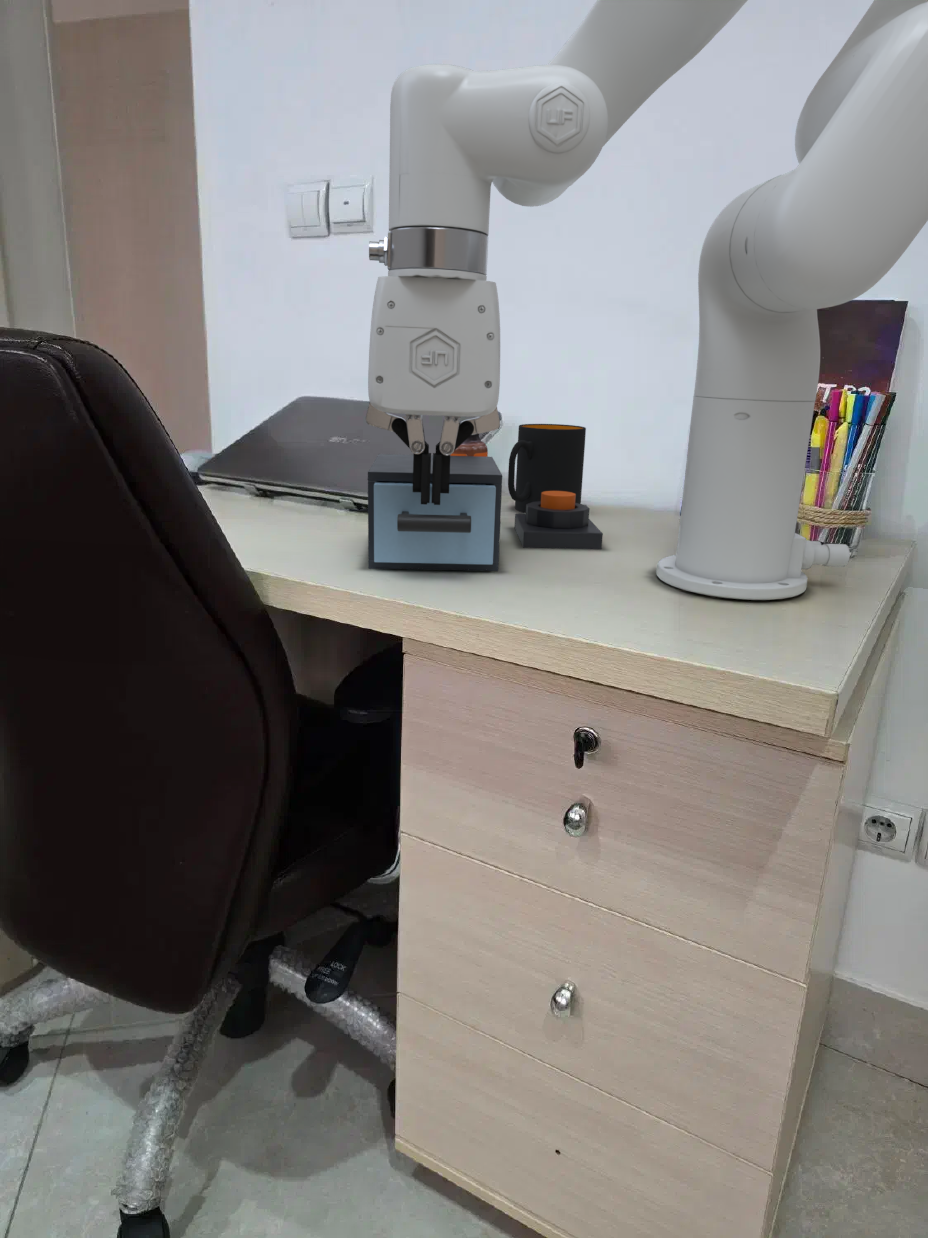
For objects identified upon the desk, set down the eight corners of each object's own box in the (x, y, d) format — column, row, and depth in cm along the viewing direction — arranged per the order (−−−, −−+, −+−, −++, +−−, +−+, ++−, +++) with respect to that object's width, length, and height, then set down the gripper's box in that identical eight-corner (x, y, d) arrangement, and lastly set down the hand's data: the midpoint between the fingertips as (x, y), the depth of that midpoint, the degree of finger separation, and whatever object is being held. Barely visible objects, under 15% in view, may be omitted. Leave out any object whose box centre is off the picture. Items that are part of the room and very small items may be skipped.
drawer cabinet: (498, 571, 74) (502, 474, 71) (368, 568, 74) (367, 471, 71) (489, 539, 87) (492, 456, 84) (378, 537, 87) (378, 453, 84)
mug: (481, 512, 102) (484, 426, 99) (541, 502, 110) (546, 422, 107) (534, 522, 97) (539, 431, 94) (593, 510, 105) (599, 427, 102)
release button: (571, 507, 89) (572, 491, 89) (577, 513, 86) (578, 496, 85) (538, 506, 89) (539, 490, 89) (542, 512, 86) (543, 495, 85)
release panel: (584, 529, 93) (587, 499, 92) (601, 549, 84) (604, 515, 83) (514, 528, 93) (515, 497, 92) (523, 547, 83) (524, 513, 82)
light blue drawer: (496, 577, 68) (499, 495, 66) (370, 574, 68) (369, 492, 66) (485, 535, 84) (487, 468, 82) (383, 533, 84) (382, 465, 82)
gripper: (332, 250, 59) (334, 506, 64) (541, 260, 59) (525, 513, 65) (344, 261, 66) (344, 491, 71) (530, 270, 67) (516, 498, 72)
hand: (430, 501), depth 68 cm, fingers closed
